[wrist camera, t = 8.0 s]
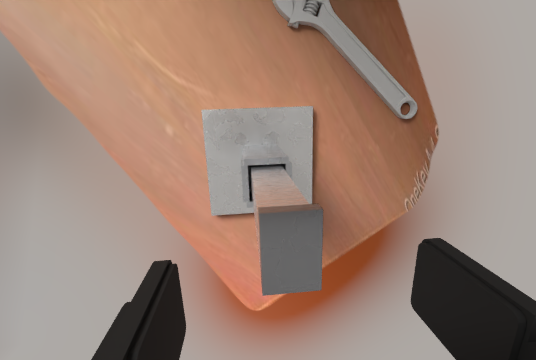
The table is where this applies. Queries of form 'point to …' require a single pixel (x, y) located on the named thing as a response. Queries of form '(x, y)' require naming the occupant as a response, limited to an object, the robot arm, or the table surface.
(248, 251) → the table surface
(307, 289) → the column
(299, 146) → the stand base
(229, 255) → the table surface
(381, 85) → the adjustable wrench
